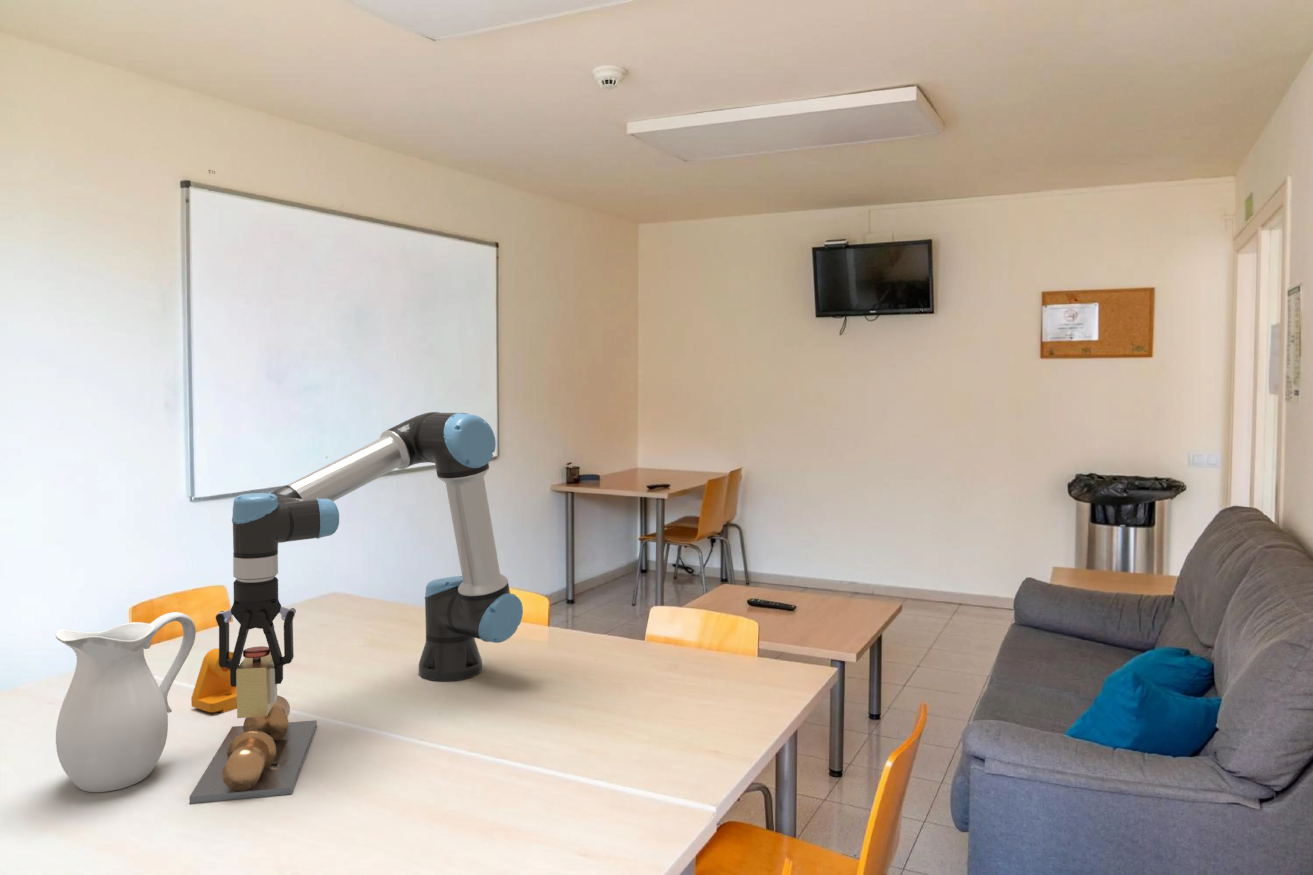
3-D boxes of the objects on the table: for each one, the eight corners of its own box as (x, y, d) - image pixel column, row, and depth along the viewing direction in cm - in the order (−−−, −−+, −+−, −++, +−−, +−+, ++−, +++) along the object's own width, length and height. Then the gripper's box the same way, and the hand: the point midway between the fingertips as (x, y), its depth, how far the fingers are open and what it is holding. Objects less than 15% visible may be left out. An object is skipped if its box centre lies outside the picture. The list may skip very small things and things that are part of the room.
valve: (276, 698, 170) (275, 642, 169) (267, 716, 161) (266, 656, 161) (248, 700, 169) (247, 643, 168) (237, 718, 160) (236, 658, 159)
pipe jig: (232, 732, 179) (231, 692, 178) (316, 725, 183) (316, 686, 182) (189, 803, 149) (188, 755, 148) (291, 794, 153) (290, 747, 152)
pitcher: (87, 810, 146) (82, 644, 145) (38, 784, 155) (33, 628, 154) (224, 758, 167) (221, 612, 165) (174, 738, 175) (170, 599, 174)
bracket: (212, 716, 187) (210, 660, 187) (191, 709, 191) (190, 655, 190) (257, 701, 197) (256, 647, 196) (237, 694, 200) (236, 642, 200)
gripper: (311, 571, 169) (311, 691, 171) (207, 575, 165) (209, 698, 166) (305, 580, 162) (305, 705, 163) (196, 583, 158) (198, 712, 159)
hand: (257, 701), depth 165 cm, fingers closed on valve, 5 cm apart
